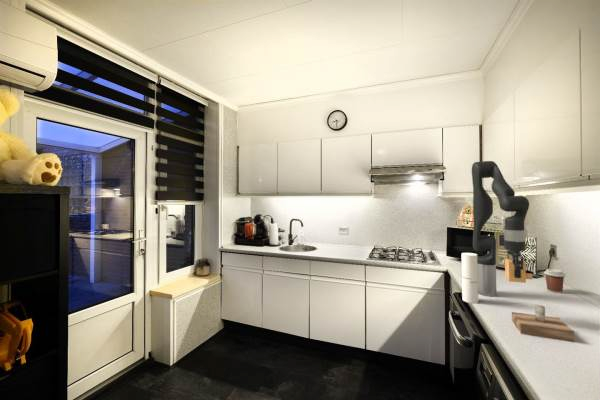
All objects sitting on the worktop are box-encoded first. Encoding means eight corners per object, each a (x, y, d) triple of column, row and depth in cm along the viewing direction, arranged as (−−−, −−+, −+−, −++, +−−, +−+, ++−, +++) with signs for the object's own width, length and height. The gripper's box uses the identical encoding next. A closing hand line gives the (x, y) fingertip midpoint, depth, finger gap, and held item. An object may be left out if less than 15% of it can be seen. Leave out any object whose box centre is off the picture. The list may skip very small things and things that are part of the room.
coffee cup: (570, 294, 147) (570, 272, 147) (551, 293, 148) (550, 272, 148) (558, 288, 156) (557, 268, 156) (540, 288, 157) (539, 268, 157)
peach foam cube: (509, 281, 121) (508, 261, 120) (505, 277, 126) (505, 258, 126) (534, 283, 117) (534, 263, 117) (529, 279, 122) (529, 260, 122)
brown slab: (511, 320, 118) (511, 298, 118) (559, 327, 111) (558, 303, 111) (521, 333, 107) (520, 309, 107) (574, 341, 100) (573, 315, 100)
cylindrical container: (463, 297, 147) (462, 252, 146) (478, 300, 142) (478, 253, 142) (461, 301, 141) (460, 254, 141) (477, 304, 136) (476, 256, 136)
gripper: (500, 236, 130) (501, 270, 130) (509, 241, 117) (509, 279, 117) (519, 237, 127) (520, 272, 127) (530, 242, 114) (531, 281, 114)
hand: (515, 275), depth 122 cm, fingers closed on peach foam cube, 6 cm apart
